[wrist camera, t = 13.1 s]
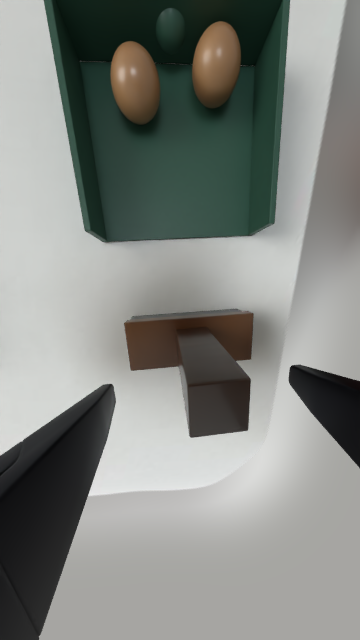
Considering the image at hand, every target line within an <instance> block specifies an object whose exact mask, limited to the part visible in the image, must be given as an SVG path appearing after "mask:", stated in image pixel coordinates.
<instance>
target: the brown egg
mask: <svg viewBox="0 0 360 640" xmlns="http://www.w3.org/2000/svg"><path fill="white" fill-rule="evenodd" d="M110 76H111V86H112V91H113V95H114V98H115V100H116V103H117V105H118V107H119V109H120V110H121V112H122V113H123V115H124V116H125V117H126V118H127V119H128V120H129V121H131V122H132V123H135V124H138V125H143V124H147V123H148V122H150V121H151V120H152V119H153V118H154V116H155V114H156V112H157V110H158V107H159V103H160V80H159V75H158V71H157V68H156V66H155V63H154V61H153V59H152V57H151V56H150V54H149V53H148V51H147V50H146V49H145V48H144V47H143V46H142V45H140V44H139V43H137V42H134V41H127V42H124V43H122V44H121V45H120V46H119V47H118V48H117V50H116V51H115V53H114V56H113V59H112V63H111V73H110Z"/></svg>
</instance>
